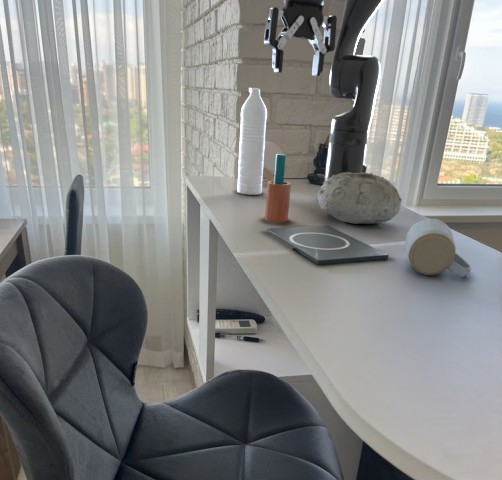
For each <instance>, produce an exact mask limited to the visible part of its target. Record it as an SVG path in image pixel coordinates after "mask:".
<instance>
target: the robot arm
mask: <svg viewBox="0 0 502 480" xmlns="http://www.w3.org/2000/svg"><path fill="white" fill-rule="evenodd" d="M344 1H345V2H344V8H343V14H342V18H341V22H340V27H339V32H338V37H337V39H336V35H337V21H338V17H337V16H336V15H334V14H333V15H324V13H323V8H324V5H325V0H283V8H282V9H279V8H278V7H276V6H275V7H271V8H268V9H267V10H266V11H267V12H266V18H265V27H264V36H263V43H264V45H265V46H268V47H270V48H271V49H272V57H271V59H272V60H271V68H272V69H273V72H274V73H280V74H281V73H282V71H283V65H284V64H283V63H284V47H285V46H286V45H287V43H288V42H289V41H290V40H291V39H298V38H299V39H301V40H308V43H309V44H310V45H311V46H312V48H313V49H312V50H313V51H314V53H315V54H313V59H312V70H311V75H312V77H315V76H316V77H319V76H321V74H322V73H323V71H324V65H325V64H324V63H325V56H326V54H327V53H330V52H334V53H333V56H332V61H331V66H330V70H329V78H328V89H329V93H330V94H331V96H332V98H333V97H334V98H336V99H344V100H354V101H353V105H352V107H351V108H349V109H348V110H346V111H345V112H343V113H339V114H336V115H333V117H332V118H331V122H330V128H329V129H330V130H329V136H328V146H327V155H326V162H325V171H324V179H323V182H322V184H323V183H324V182H326V181H327V180H328V179H329V178H331V177H332V175H337V174H340V173H345V172H348V173H349V172H351V173H367V169H368V168H367V167H368V166H367V164H365V158H366V152H367V144H368V137H369V132H370V126H371V123H372V119H373V116H374V110H375V105H376V99H377V94H378V91H379V85H380V79H381V63H380V61H379V59H378V57H377V56H375V55H369V54H365V55H364V54H355V53H356V50H357V45H358V42H359V40H360V37H361V35H362V33H363V31H364V30H365V27H367V24H368V23H369V22H370V20H371V19H372V18H373V16H374V15H375V14H376V12H377V11H378V9H379V8H380V7H381V5H382V4H383V2H384V0H344ZM280 21H282V23H283V25H284V26H283V27H282V29H281V30H280V32H279V33H278V35H277V30H278V29H277V28H278V23H280ZM321 26H322V28H323V29H324V31H323V35H322V32H321V30H320V27H321ZM276 36H277V37H276Z"/></svg>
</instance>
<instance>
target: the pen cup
mask: <svg viewBox="0 0 502 480" xmlns="http://www.w3.org/2000/svg"><path fill="white" fill-rule="evenodd" d="M291 188H292V183H291V182H289V181H285V180H284V184H274V180H269V181H268V180H267V185H266V198H265V199H266V200H265V212H264V219H265V221H268V222H273V223H285V222H287V221H289V220H288V219H289V210H290V209H289V208H290V199H291Z"/></svg>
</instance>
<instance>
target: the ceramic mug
mask: <svg viewBox="0 0 502 480" xmlns="http://www.w3.org/2000/svg"><path fill="white" fill-rule="evenodd" d="M404 247H405V251H406V257H407V261H408V263H409V265H410V266H411V268H412V269H413V270H414V271H416V272H417V273H419V274H421V275H423V276H424V275H425V276H436V275H437V276H438V275H439V274H442V273H444V272H445V271H446V270H448V271H449V272H451V273H453V274H454V275H456V276H458V277H462V278H464V277H467V276H468V275H469V273H470V272H471V271H472V267H471V265H470V263H468V261H466V260H465V259H464V258H463V257H462V256H460V255H459V254H458V253H456V250H457V249H456V243H455V240H454V235H453V232H452V230H451V228H450V227H449V226H448V224H447V223H445V222H444V221H442V220H441V219H437V218H424V219H420V220H418V221H416V222H415V223H414V224H413V225H412V226H411V227H410V228H409V230H408V231H407V233H406V236H405V241H404Z"/></svg>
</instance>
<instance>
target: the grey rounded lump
mask: <svg viewBox="0 0 502 480" xmlns="http://www.w3.org/2000/svg"><path fill="white" fill-rule="evenodd" d="M323 182H324V181H323ZM323 182H322V185H321V187H320V190H319V191H318V193H317V200H318V205H319V207H320V208H321V209H322V210H323V211H324V212H325V213H327V214H329V215H330V216H332V217H333V218H335V219H336V220H338V221H340V222H342V223H348V224H353V225H354V224H355V225H358V224H365V225H377V224H382V223H385V222H389V221H391V220H392V219H394V218H395V216H397V215H398V214H399V212H400V211H401V205H402V200H403V199H402V198H401V196H400V193H399V192H398V189H397V187H395V185H394V184H393V183H392V182H391V181H390V180H389V179H386V178H385V177H384V176H379V175H376V174H373V172H370V173H369V172H366V173H351V172H349V173H348V172H345V173H340V174H337V175H332V177H331V178H329V179H328V180H327V181H326V182H324V183H323Z"/></svg>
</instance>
